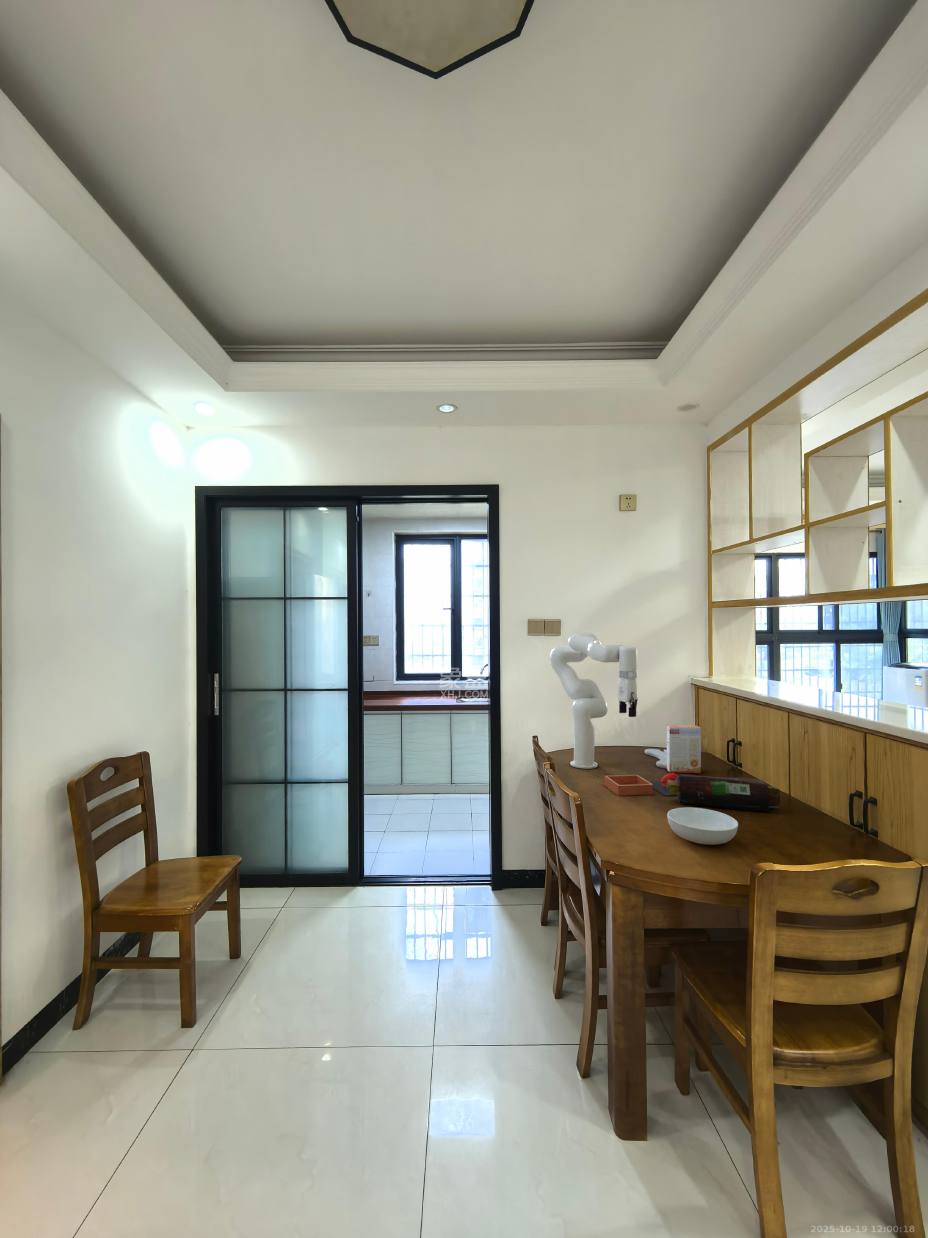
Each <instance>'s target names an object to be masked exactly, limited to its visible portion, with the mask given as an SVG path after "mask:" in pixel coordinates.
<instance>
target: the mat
mask: <svg viewBox="0 0 928 1238" xmlns="http://www.w3.org/2000/svg"><path fill="white" fill-rule="evenodd" d="M649 782H650V783H651V784H653V790H655V791H656V792H658V793H660V795H662V796H664V797H677V795H673V794H669V793H668V791H667V789H666V788H665V787H663V785H662V783H661V781H649Z"/></svg>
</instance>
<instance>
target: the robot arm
mask: <svg viewBox="0 0 928 1238" xmlns="http://www.w3.org/2000/svg"><path fill="white" fill-rule="evenodd" d="M549 657H550V659H549V661H550V665H551V667H552V670H553V671H554V673H555V674H556V675H557V677H558V678H559V680H560V682H561V685H562V687H563V689H564V691H565V694H566V695H567V696H568V698H570V699H571V700H575V701H573V703H572V707H571V712H572V718H573V719H572V720H573V760H572V761H570V763H569V765H570V766H571V767H573V768H576V769H583V770H584V769H586V770H587V769H590V770H591V769H596V768H597V767H598V762H596V761H595V725H594V722H592V719H599V718H600V719H601V718H603V717H605V716H606V715H607V713H608V704H607V701H606V699H605V697H604V695H603V693H602V691H601V689H600V688H599V685H598V684H597V683H596V682H595V681H594V680H593V679H590V678H589V679H588V678H585V679H584V678H583V679H582V678H580V677H579V676H578V673H577V672H576V670H575V668H573V667H572V666H571V665H569V663H580V662H583V661H584V660H586V658H588V657H589V658H590V659H591V660H594V661H597V662H600V663H604V664H605V663H608V664H609V663H618V684H617V699H618V706H619V707H618V713H619V714H627V713H628V715H627V716H628V717H629V718H636V717H637V707H638V706H637V705H638V699H639V698H638V686H637V685H638V684H637V679H638V648H637V647H635V646H628V645H627V646H625V645H623V644H609V645H608V644H607V645H605V644H602V642H601V640H600V639H599V638H598V636H596V635H595V634H594V633H591V632H580V633H579V632H578V633H577V632H575V633H573V634H572V635H570V636H569V638H568V645H558V646H555V647H553V648H552V650H551V651H550V655H549ZM627 704H628V705H627ZM627 706H628V707H627ZM627 709H628V711H627Z"/></svg>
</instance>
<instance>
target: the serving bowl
mask: <svg viewBox="0 0 928 1238" xmlns="http://www.w3.org/2000/svg"><path fill="white" fill-rule="evenodd" d="M666 816H667V822H668V825H669V827H670V829H671V830H672V831H673V832H674V833H675V834H676V835H677V836H678V837H680V838H682V839H684V840H687V841H689V842H692V843H695V844H699V845H706V846H707V845H713V846H714V845H722V844H725V843H728V842H730V841H731V840H732V839H734V838H735V836H736V835H737V832H738V828H739V822H738V820H737V819H735V818H734V817H732V816H731V815H728V814H726V813H724V812H720V811H717V810H713V809H708V808H703V807H686V806H685V807H677V808H673V809H670V810H668V811H667V814H666Z"/></svg>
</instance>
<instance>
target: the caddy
mask: <svg viewBox="0 0 928 1238" xmlns="http://www.w3.org/2000/svg"><path fill="white" fill-rule="evenodd" d="M650 782H651V781H649V780H646V779H645V778H644V777H641V776H640V775H639V774H621V775H620V774H619V775H604V782H603V783H604V786H605V787H606V788H608V790H610V791H612V792H613V793H614V794H616V795H617V796H619V797H621V796H646V795H649V796H650V795H654V789H653V784H651V783H650Z"/></svg>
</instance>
